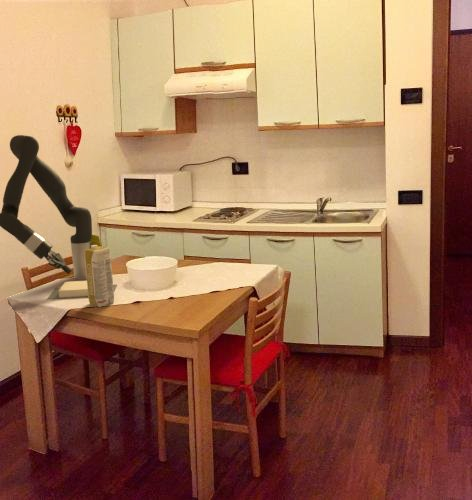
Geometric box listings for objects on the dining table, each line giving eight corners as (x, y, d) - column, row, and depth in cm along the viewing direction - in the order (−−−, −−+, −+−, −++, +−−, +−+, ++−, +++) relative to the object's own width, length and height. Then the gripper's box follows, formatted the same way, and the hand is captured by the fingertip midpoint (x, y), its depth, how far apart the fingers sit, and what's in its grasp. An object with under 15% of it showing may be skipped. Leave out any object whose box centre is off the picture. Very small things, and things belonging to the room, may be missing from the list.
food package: (111, 274, 304) (99, 235, 297) (109, 275, 303) (97, 236, 296) (94, 269, 315) (83, 231, 308) (93, 270, 314) (81, 232, 307)
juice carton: (104, 299, 264) (99, 242, 259) (117, 302, 259) (112, 244, 254) (86, 305, 257) (80, 246, 252) (99, 308, 252) (93, 248, 247)
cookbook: (58, 290, 268) (106, 287, 269) (65, 281, 282) (111, 279, 283) (59, 297, 268) (107, 294, 269) (66, 288, 282) (111, 285, 283)
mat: (46, 300, 266) (46, 299, 266) (55, 288, 284) (55, 287, 284) (111, 296, 267) (111, 295, 267) (117, 285, 285) (117, 284, 285)
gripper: (40, 242, 263) (73, 269, 267) (47, 236, 276) (79, 262, 279) (28, 255, 264) (61, 282, 267) (36, 248, 277) (67, 274, 280)
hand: (70, 272), depth 273 cm, fingers closed
